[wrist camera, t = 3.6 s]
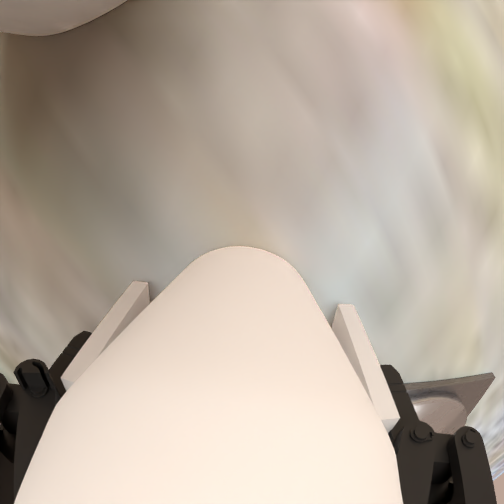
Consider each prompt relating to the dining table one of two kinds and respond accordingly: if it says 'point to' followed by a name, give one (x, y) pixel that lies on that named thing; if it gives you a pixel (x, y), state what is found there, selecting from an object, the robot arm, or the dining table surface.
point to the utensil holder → (50, 15)
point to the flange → (448, 400)
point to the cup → (218, 402)
